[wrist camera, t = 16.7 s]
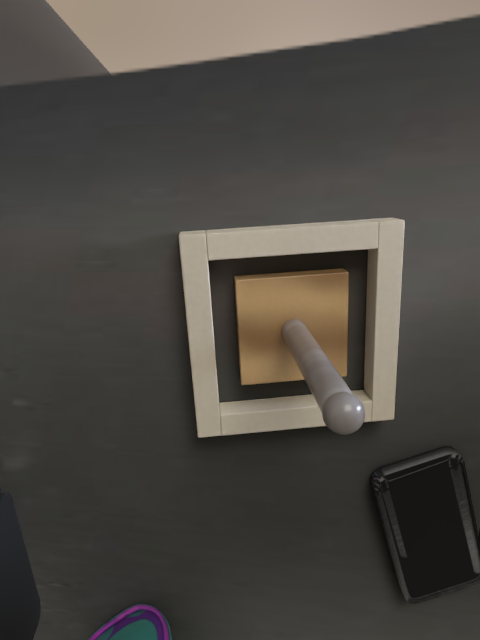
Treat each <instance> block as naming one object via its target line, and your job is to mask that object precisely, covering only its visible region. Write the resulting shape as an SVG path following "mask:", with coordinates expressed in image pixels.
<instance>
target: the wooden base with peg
mask: <svg viewBox="0 0 480 640" xmlns="http://www.w3.org/2000/svg"><path fill="white" fill-rule="evenodd" d="M348 284H349V272H347V271H346V270H344V269H343V268H337V269H323V270H310V271H296V272H282V273H268V274H255V275H241V276H234V288H235V304H236V321H237V337H238V354H239V370H240V380H241V385H250V384H261V383H273V382H284V381H295V380H305V381H306V383H307V385H308V387H309V389H310V391H311V393H312V395H313V397H314V399H315V401H316V403H317V404H318V406H319V408H320V410H321V412H322V418H323V421H324V423H325V424H326V426H327V427H328V428H329V429H330V430H331V431H333V432H335V433H337V434H341V435H347V434H351V433H354V432H356V431H357V430H358V429H359V428H360V427H361V426H362V424H363V422H364V419H365V409H364V406H363V404H362V402H361V401H360V399H359V398H358V397H356V396H355V395H354V394H353V393H352V391H351V390H350V389H349V387H348V386H347V384H346V383H345V381H344V380H343V379H342V377H341V376H347V339H348Z"/></svg>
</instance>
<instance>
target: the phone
mask: <svg viewBox="0 0 480 640" xmlns="http://www.w3.org/2000/svg"><path fill="white" fill-rule="evenodd" d="M371 485H372V489H373V492H374V496H375V499H376V503H377V507H378V511H379V514H380V519H381V522H382V525H383V528H384V532H385V535H386V539H387V543H388V546H389V550H390V553H391V557H392V561H393V564H394V568H395V571H396V575H397V578H398V582H399V586H400V589H401V591H402V593H403V595H404V597H405V599H406V600H407V601H408V602H409V603H415V604H416V603H420V602H423V601H426V600H429V599H432V598H436V597H439V596H442V595H445V594H448V593H451V592H454V591H457V590H460V589H463V588H466V587H470V586H473V585H476V584H478V583H480V550H479V545H478V538H479V536H478V531H477V525H476V520H475V515H474V510H473V505H472V500H471V494H470V489H469V484H468V479H467V474H466V469H465V463H464V460H463V458H462V457H461V456H460V455H459V454H458V452H457V451H456V450H455V449H454V448H452V447H448V446H445V447H441V448H438V449H435V450H432V451H429V452H426V453H423V454H420V455H416V456H413V457H410V458H407V459H404V460H401V461H398V462H395V463H392V464H389V465H386V466H383V467H380V468H378V469H376V470H375V471H374V472H373V474H372V475H371Z"/></svg>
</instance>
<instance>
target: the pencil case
mask: <svg viewBox="0 0 480 640" xmlns="http://www.w3.org/2000/svg"><path fill="white" fill-rule="evenodd" d="M88 640H172V634H171V629H170V626H169V623H168V621H167V619H166V617H165V616H164V615H163V614H162V612H161V611H160V610H158V609H157V608H156V607H154V606H151V605H148V604H136V605H133V606H131V607H129V608H127V609H125V610H124V611H122V612H120V613H119V614H117V615H116V616H115V617H113V618H112V619H111V620H109V621H108V622H106V623H105V624H104V625H103V626H101V627H100V628H99V629H98V630H97V631H96V632H95V633H93V634H92V635H91V637H90V638H89V639H88Z"/></svg>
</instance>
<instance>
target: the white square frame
mask: <svg viewBox="0 0 480 640" xmlns="http://www.w3.org/2000/svg"><path fill="white" fill-rule="evenodd" d="M404 225H405V221H404V220H401V219H396V218H380V219H365V220H350V221H335V222H320V223H305V224H290V225H275V226H260V227H245V228H230V229H215V230H206V231H205V230H200V231H185V232H180V234H179V247H180V257H181V268H182V278H183V288H184V299H185V309H186V319H187V330H188V340H189V350H190V361H191V371H192V381H193V392H194V402H195V412H196V423H197V433H198V438H202V437H212V436H221V435H222V436H224V435H235V434H245V433H256V432H266V431H277V430H287V429H298V428H308V427H319V426H326V424H325V423H324V421H323V418H322V412H321V410H320V408H319V406H318V404H317V403H316V401H315V399H314V397H313V395H312V394H310V395H299V396H288V397H277V398H266V399H255V400H244V401H233V402H222V403H219V394H218V382H217V369H216V356H215V343H214V331H213V318H212V305H211V292H210V279H209V267H208V260H223V259H238V258H252V257H266V256H280V255H294V254H308V253H322V252H336V251H350V250H364V249H368V266H367V299H366V332H365V364H364V390H354V391H352V393H353V394H354V395H355V396H356V397H358V398H359V399H360V401H361V402H362V404H363V406H364V409H365V419H364V422H371V421H382V420H393V419H394V409H395V391H396V373H397V354H398V336H399V317H400V299H401V280H402V262H403V243H404Z"/></svg>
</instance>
